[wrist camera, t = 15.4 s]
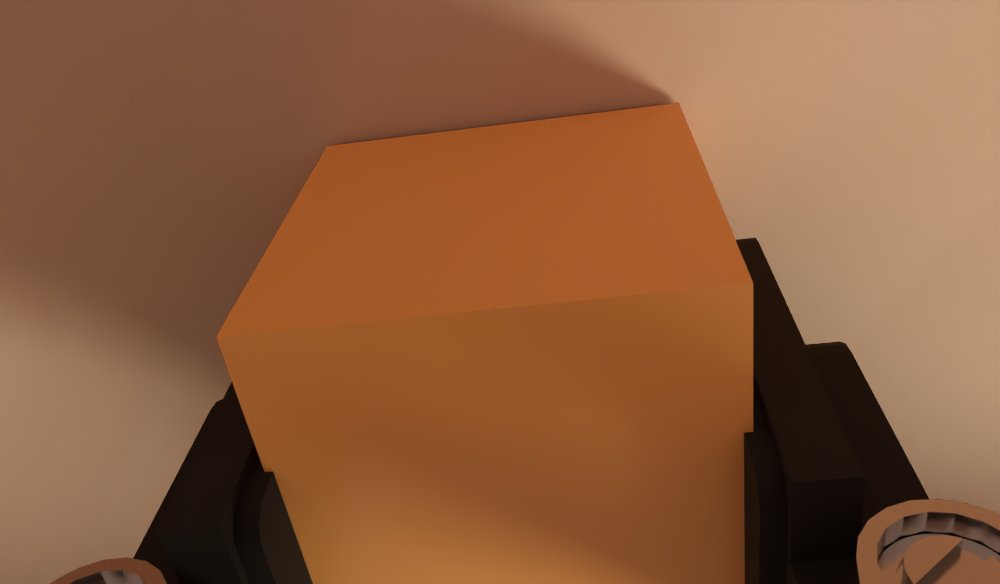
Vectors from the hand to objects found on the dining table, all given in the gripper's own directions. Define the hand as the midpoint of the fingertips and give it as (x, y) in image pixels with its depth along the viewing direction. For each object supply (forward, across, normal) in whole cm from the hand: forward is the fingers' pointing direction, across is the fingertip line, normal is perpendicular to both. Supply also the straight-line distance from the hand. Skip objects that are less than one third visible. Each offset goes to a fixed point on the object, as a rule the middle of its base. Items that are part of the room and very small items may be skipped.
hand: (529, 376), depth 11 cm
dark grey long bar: (+1, 0, +6) cm, 6 cm away
